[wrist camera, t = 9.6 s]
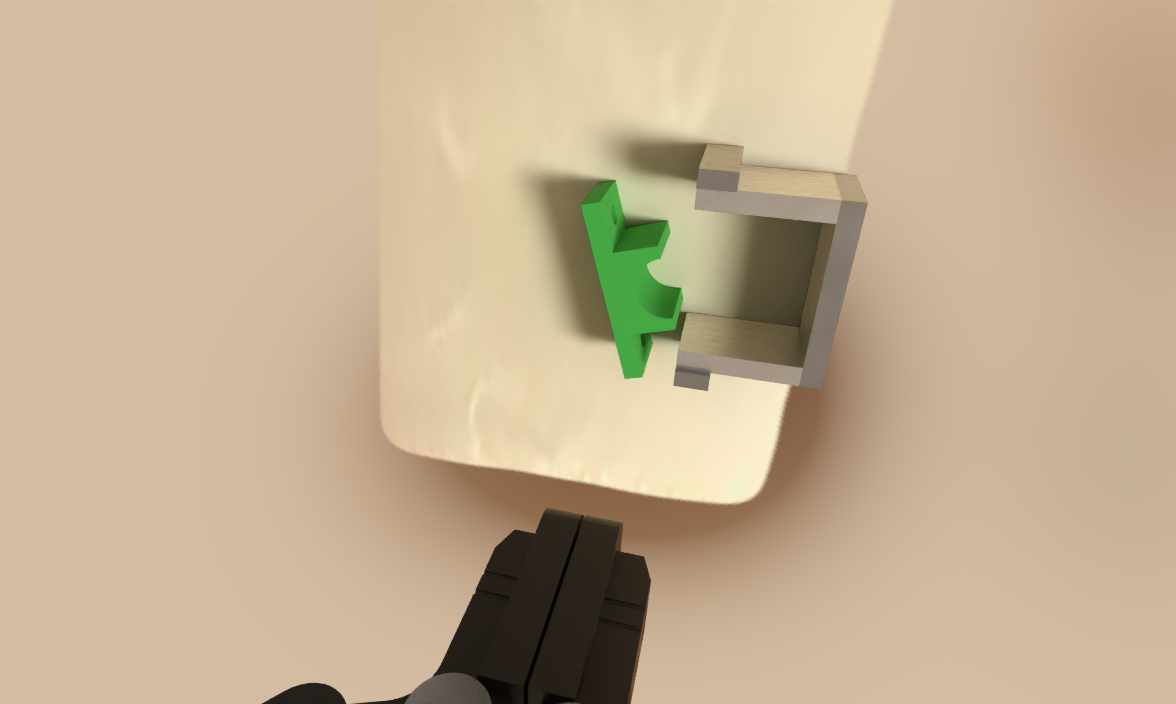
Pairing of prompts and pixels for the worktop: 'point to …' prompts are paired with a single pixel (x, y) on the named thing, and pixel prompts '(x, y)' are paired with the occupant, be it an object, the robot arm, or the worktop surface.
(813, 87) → the worktop surface
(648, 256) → the pipe clamp
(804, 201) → the grey u-shaped bracket
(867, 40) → the worktop surface
